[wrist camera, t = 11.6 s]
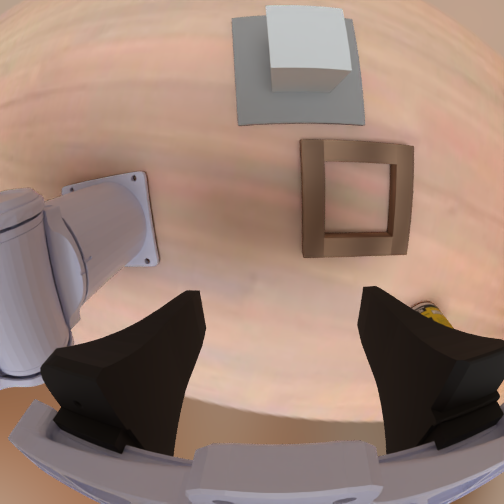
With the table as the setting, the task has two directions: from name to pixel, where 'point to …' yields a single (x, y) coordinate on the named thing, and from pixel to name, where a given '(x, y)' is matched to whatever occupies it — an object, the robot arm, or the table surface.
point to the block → (307, 48)
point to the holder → (314, 198)
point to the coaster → (289, 103)
